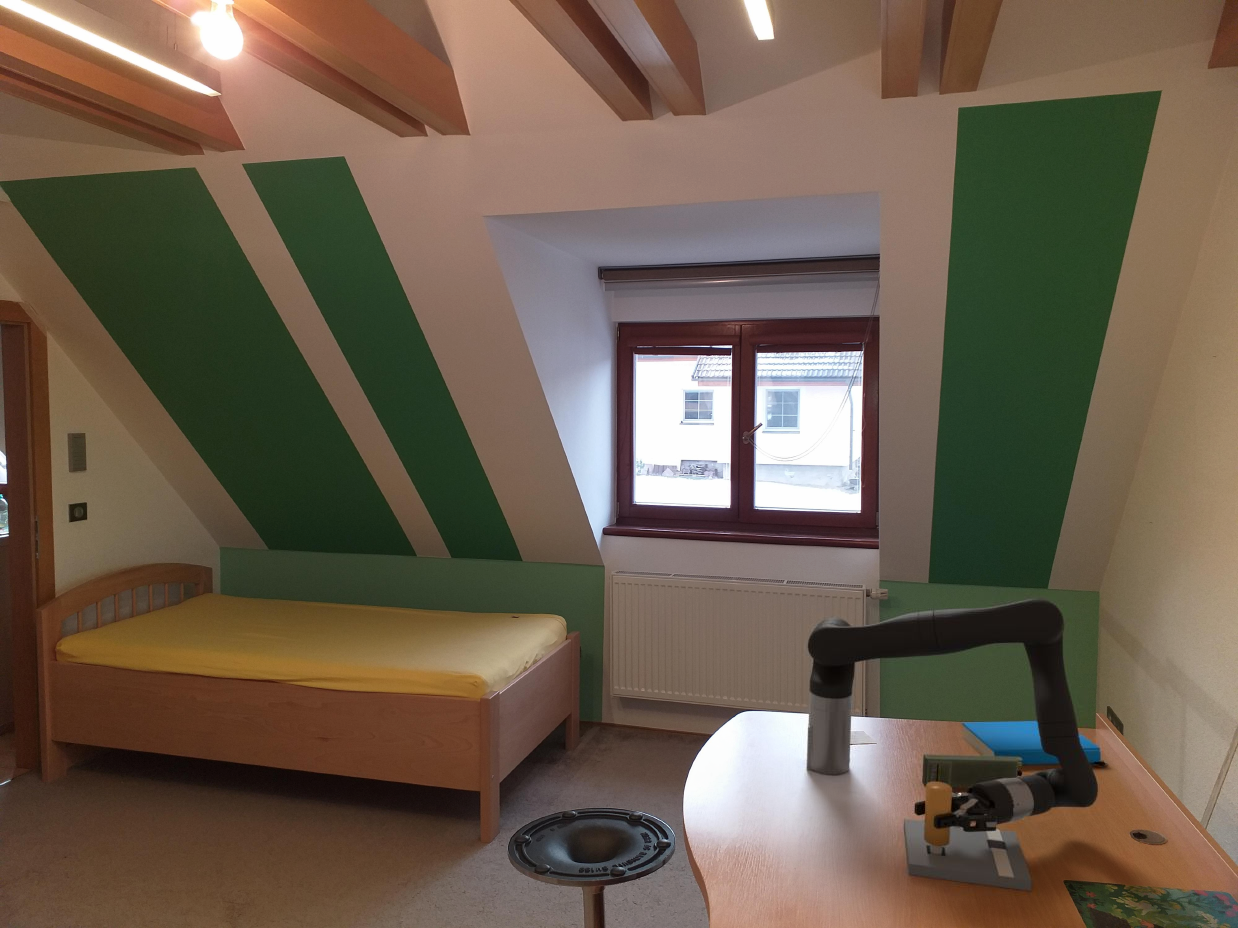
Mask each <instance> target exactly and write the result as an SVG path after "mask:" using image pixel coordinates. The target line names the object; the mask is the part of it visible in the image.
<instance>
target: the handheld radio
mask: <svg viewBox="0 0 1238 928" xmlns="http://www.w3.org/2000/svg"><path fill="white" fill-rule="evenodd" d="M1018 761H1022V758H1021V757H1004V756H983V755H964V754H963V755H960V754H959V755H957V754H929V753H928V754H926V753H924V754H923V758H922V778H921V779H922V781H921V783H922V784H923V786H924V787H926V784H927V783H929V782H942V783H946V784H948V785H950V786H951V787H952V788H968V789H970V787H971V786H972V785H974V784H976V783H981V782H987V781H992V780H997V779H1003V778H1016V777H1021V776H1023V772H1022V771H1021V770H1020V769H1019V768H1020V767H1022V766H1023V764H1022V763H1021V762H1018Z"/></svg>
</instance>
